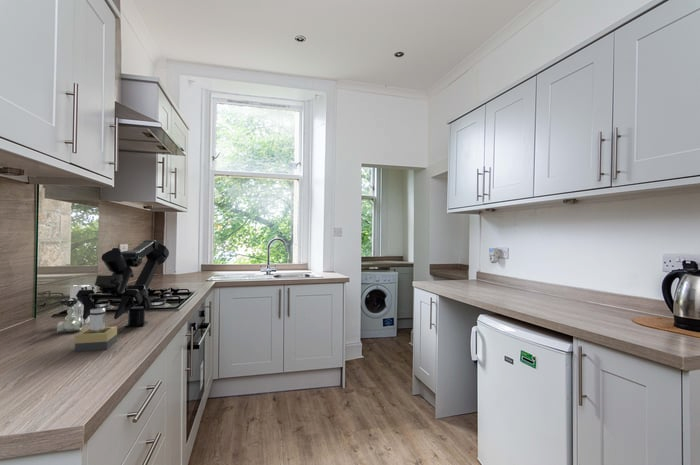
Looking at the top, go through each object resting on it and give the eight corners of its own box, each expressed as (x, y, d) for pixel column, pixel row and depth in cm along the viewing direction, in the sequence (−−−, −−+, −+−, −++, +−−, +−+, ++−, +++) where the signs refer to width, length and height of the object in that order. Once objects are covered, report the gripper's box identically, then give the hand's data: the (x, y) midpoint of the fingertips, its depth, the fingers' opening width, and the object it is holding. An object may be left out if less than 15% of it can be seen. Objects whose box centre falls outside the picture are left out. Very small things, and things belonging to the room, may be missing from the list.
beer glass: (65, 323, 133) (66, 286, 133) (86, 320, 139) (86, 284, 139) (74, 326, 130) (75, 287, 130) (94, 322, 136) (95, 285, 136)
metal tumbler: (89, 345, 108) (90, 308, 108) (105, 343, 111) (106, 307, 111) (88, 349, 105) (89, 310, 105) (104, 346, 107) (105, 309, 107)
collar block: (87, 343, 111) (87, 328, 111) (116, 341, 113) (117, 326, 113) (74, 351, 102) (75, 335, 103) (106, 349, 105) (107, 333, 105)
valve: (62, 330, 124) (63, 298, 125) (84, 328, 127) (84, 297, 127) (54, 335, 118) (55, 301, 118) (77, 333, 121) (78, 300, 121)
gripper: (79, 265, 113) (55, 305, 102) (139, 266, 115) (121, 304, 105) (94, 285, 121) (72, 324, 110) (149, 285, 123) (133, 323, 112)
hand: (99, 318), depth 109 cm, fingers open, 9 cm apart
